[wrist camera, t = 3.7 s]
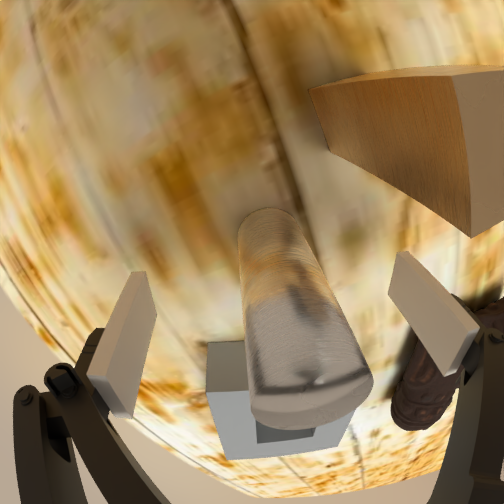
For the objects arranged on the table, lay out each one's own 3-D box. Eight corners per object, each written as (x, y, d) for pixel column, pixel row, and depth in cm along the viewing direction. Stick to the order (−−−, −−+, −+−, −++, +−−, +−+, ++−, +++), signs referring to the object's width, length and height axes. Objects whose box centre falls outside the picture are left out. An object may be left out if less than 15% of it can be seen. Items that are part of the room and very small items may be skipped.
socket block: (207, 342, 23) (205, 392, 18) (351, 328, 23) (371, 372, 19) (225, 422, 29) (226, 459, 25) (327, 411, 30) (337, 446, 26)
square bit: (307, 89, 15) (451, 75, 4) (366, 73, 14) (533, 69, 3) (330, 151, 16) (471, 238, 6) (384, 133, 16) (543, 195, 5)
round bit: (235, 209, 18) (247, 371, 7) (300, 206, 18) (387, 351, 7) (239, 266, 20) (252, 435, 9) (298, 262, 20) (357, 418, 9)
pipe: (394, 450, 24) (497, 416, 21) (428, 371, 18) (548, 329, 15) (382, 388, 33) (474, 366, 30) (397, 299, 26) (505, 278, 24)
